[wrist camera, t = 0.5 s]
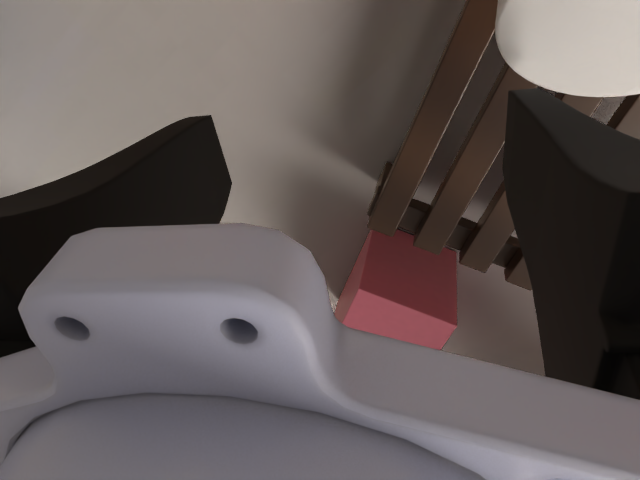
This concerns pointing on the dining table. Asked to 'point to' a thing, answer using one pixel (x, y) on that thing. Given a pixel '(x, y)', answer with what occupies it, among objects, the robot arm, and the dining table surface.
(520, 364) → the dining table surface
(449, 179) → the rack
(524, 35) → the pill bottle
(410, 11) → the dining table surface
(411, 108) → the dining table surface
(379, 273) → the pink box
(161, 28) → the dining table surface
